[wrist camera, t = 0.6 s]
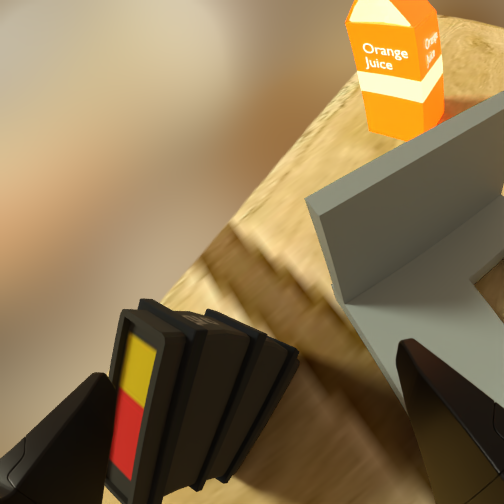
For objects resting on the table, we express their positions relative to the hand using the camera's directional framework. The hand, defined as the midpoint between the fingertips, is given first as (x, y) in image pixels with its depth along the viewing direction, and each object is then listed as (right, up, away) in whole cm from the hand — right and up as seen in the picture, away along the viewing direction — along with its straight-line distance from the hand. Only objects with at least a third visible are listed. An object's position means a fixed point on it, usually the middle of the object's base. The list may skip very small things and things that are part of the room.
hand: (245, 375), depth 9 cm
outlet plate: (+19, -4, +9) cm, 21 cm away
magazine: (0, -10, +14) cm, 17 cm away
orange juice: (+20, +20, +26) cm, 39 cm away
